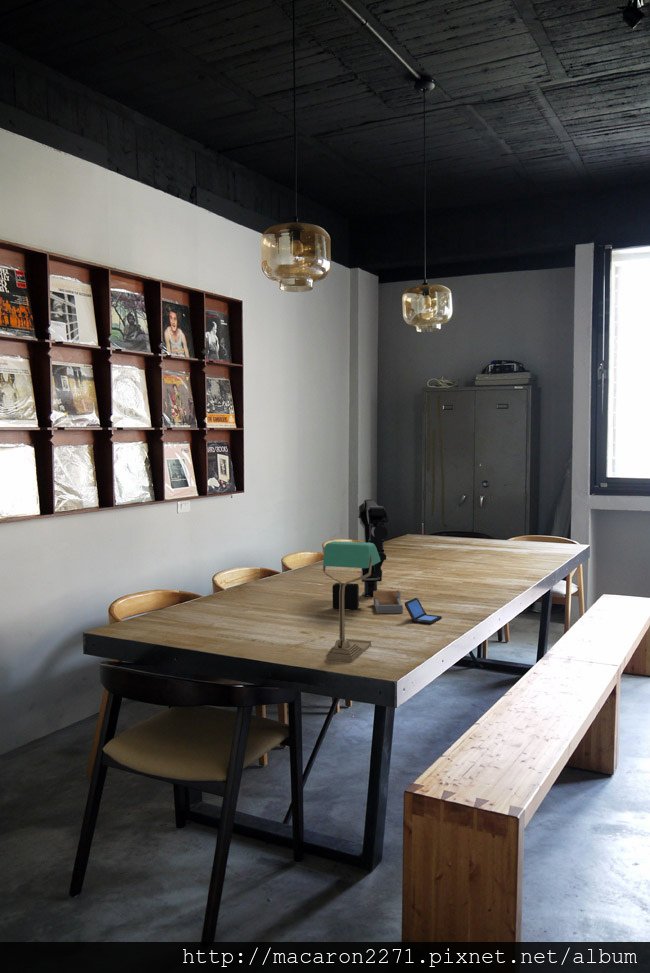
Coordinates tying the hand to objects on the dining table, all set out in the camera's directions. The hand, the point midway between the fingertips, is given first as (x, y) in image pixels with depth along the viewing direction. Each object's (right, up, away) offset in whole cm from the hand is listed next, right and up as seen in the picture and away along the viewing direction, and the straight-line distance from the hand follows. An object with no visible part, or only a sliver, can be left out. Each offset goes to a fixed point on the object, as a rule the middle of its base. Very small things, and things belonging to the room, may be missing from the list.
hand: (376, 574), depth 314 cm
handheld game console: (+15, -14, -30) cm, 37 cm away
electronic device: (-13, -13, -10) cm, 21 cm away
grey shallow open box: (+4, -13, -11) cm, 17 cm away
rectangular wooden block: (+4, -12, -3) cm, 13 cm away
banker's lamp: (-14, -17, -73) cm, 76 cm away
